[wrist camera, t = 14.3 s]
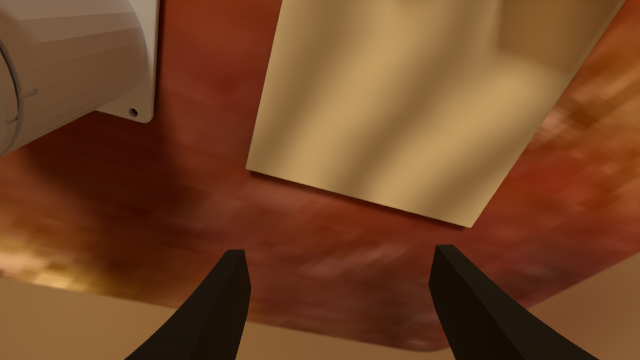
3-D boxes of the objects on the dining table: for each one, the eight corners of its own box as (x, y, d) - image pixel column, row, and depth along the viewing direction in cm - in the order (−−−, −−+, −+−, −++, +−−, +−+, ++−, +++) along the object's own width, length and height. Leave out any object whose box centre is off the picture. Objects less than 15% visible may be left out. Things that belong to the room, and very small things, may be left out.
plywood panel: (248, 161, 21) (245, 168, 20) (364, -359, 11) (368, -390, 10) (465, 219, 23) (470, 227, 22) (718, -166, 13) (745, -177, 13)
